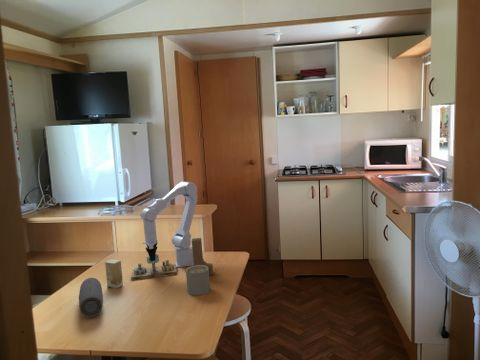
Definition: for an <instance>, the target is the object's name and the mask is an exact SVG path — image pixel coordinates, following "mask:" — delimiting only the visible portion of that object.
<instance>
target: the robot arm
mask: <svg viewBox="0 0 480 360" xmlns="http://www.w3.org/2000/svg"><path fill="white" fill-rule="evenodd" d="M181 195H182V196H183V197H184V198H185V200H186V201H185V205H184V209H183V213H182V217H181V219H180V220H181V221H180V224H179V228H178V229H177V230H176V231H175V234H174V235H173V237H172V238H171V242H172V245H173V246H174V250H175V264H176V268H182V267H191V266H194V262H193V250H192V246H191V245H192V239H191V237H192V234H191V233H190V230H191V225H192V221H193V219H194V215H195V211H196V207H197V202H198V187H197V185H196V184H195V183H194V182H192V181H190V182H189V181H184V180H183V181H180V182H179V183H177V184H176V185H175V186H174V187H173V188H172V189H171V190H170V191H169V192H168V193H167V194H166V195H164V197H162V198H156V199H155V200H154V202H152V204H151V205H148V207H146V208H143V210H142V211H141V214H140V218H141V219H142V221H143V223H142V224H143V231H144V239H145V241H142V244H144V245H146V247H145V250H146V252H147V254H148V255H149V258H150V261H155V255H156V254H157V253H156V252H157V250H158V246H157V245H158V237H157V236H158V235H157V226H156V219H157V217H158V215H159V214H160V213H161V212H163V210H165V209H166V208H167V205H168V203H170V202H171V201H173V200H174V199H175V198H177V197H178V196H181Z"/></svg>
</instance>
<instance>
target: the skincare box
mask: <svg viewBox="0 0 480 360" xmlns="http://www.w3.org/2000/svg"><path fill="white" fill-rule="evenodd" d="M104 265H105V266H104V267H105V274H106V275H105V276H106V285H107V287H108V288H114V289H118V288H120V287H122V286H123V285H124V281H123V273H122V272H123V271H122V260H118V259H112V258H111V259H108V260H107V261H105V262H104Z"/></svg>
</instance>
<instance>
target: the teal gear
mask: <svg viewBox="0 0 480 360" xmlns="http://www.w3.org/2000/svg"><path fill="white" fill-rule="evenodd" d="M159 262H160V257H159V255H158V254H157V253H156V255H155V261H150V258H149V254H148V255H147V256H146V263H148V264H149V265H150V264H151V265H152V264H154V263H155V264H157V263H159Z"/></svg>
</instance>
